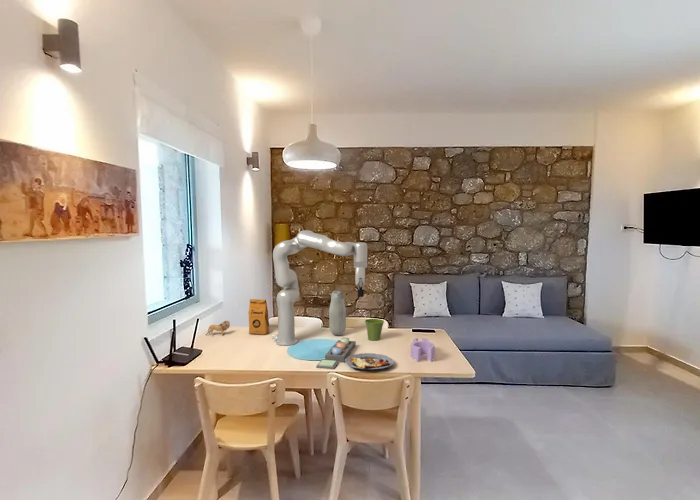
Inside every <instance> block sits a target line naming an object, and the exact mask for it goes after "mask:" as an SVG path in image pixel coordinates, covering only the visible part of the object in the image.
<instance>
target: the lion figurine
mask: <svg viewBox="0 0 700 500" xmlns="http://www.w3.org/2000/svg"><path fill="white" fill-rule="evenodd" d="M230 325H231V324H230V321H229V320H224V321H223V322H221V323H219V324H218V325H217V324H210V325H209V326H208V330H207V333H206V334H205V336H208V335H209V336H212V337H214V336H215V335H214V334H213V332H214V331H216V332H221V333H220V335H221V336H222V337H224V336H225V334H224V332H225V331H227V330H228V329H229V328H230Z"/></svg>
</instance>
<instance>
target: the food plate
mask: <svg viewBox="0 0 700 500" xmlns="http://www.w3.org/2000/svg"><path fill="white" fill-rule="evenodd" d="M345 362H346V364H347V365H348V366H349V367H351V368H353V369H357V370H363V371H366V370H368V371H371V370H383V369H387V368H389V367H393V366H394V364H395V361H394V359H393V358H391V357H389V356H388V355H386V354H379V353H372V352H371V353H370V352H368V353H367V352H362V353H355V354H352V355H349V356H348V357H347V358H345ZM345 362H344V363H345Z"/></svg>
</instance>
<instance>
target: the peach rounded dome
mask: <svg viewBox="0 0 700 500" xmlns="http://www.w3.org/2000/svg"><path fill="white" fill-rule="evenodd" d="M337 347H341V348H342V350H346V343H345V342H338V343H337Z"/></svg>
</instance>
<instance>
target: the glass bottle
mask: <svg viewBox="0 0 700 500" xmlns="http://www.w3.org/2000/svg"><path fill="white" fill-rule="evenodd" d="M330 297H331V300H330V304H329V310H328V315H329V316H328V317H329V319H328V320H329V324H328V325H329V331H330V332H331V334H333V335H334V336H342V335H344V333H345V332H346V328H347V308H346V305H345V300H344V292H342V291H341V290H339V289H338V290H333V291H332V292H331V296H330Z"/></svg>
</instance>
